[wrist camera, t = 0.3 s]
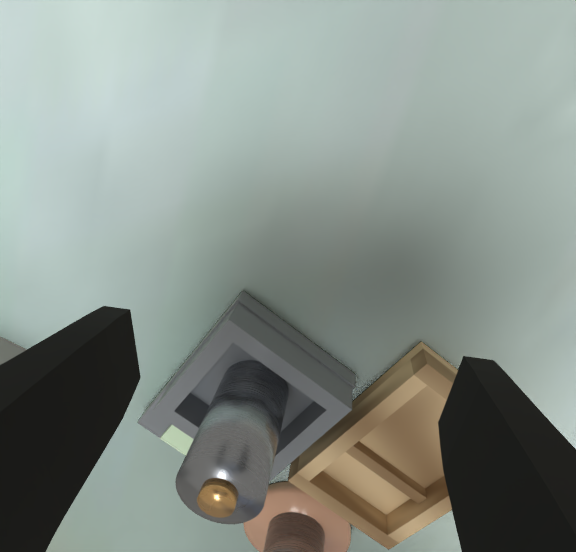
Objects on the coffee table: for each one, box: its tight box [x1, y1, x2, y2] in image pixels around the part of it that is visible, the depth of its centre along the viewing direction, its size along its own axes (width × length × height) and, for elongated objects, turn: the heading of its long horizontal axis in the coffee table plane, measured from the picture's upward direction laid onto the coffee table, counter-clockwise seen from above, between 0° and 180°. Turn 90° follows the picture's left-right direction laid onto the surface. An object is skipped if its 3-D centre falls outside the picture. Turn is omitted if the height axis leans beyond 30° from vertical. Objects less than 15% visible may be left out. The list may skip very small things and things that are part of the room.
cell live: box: [176, 360, 289, 524], centre depth 18 cm, size 3×3×6 cm
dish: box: [244, 482, 351, 552], centre depth 25 cm, size 6×6×1 cm
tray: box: [288, 342, 458, 550], centre depth 21 cm, size 10×7×2 cm
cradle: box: [137, 291, 355, 480], centre depth 21 cm, size 10×7×3 cm
